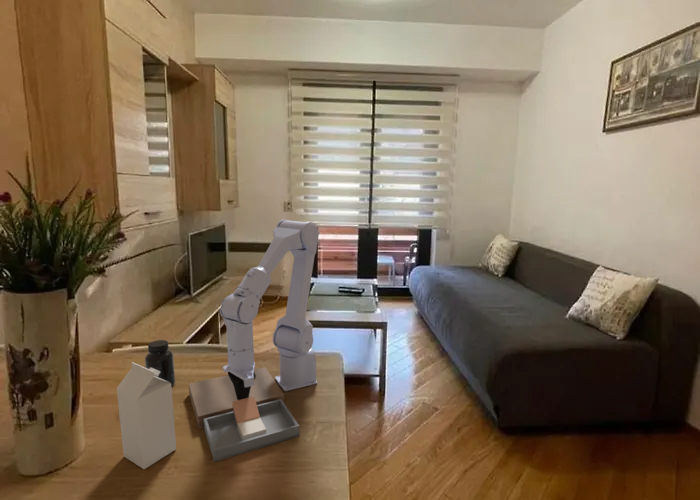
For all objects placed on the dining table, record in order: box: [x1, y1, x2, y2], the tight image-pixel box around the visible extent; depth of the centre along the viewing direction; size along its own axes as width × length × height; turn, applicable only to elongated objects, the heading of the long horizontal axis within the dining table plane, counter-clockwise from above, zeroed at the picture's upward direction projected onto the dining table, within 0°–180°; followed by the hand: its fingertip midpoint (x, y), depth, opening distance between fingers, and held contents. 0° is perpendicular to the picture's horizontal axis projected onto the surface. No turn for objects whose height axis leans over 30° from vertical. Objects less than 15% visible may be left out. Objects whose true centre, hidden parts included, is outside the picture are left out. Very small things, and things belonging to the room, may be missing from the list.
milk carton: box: [116, 361, 177, 470], centre depth 82 cm, size 7×7×19 cm
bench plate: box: [188, 366, 286, 429], centre depth 104 cm, size 20×16×3 cm
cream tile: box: [237, 417, 266, 441], centre depth 90 cm, size 5×5×2 cm
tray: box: [203, 399, 301, 463], centre depth 91 cm, size 18×12×2 cm, turn 118°
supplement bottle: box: [144, 339, 176, 387], centre depth 109 cm, size 7×7×12 cm
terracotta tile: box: [232, 397, 260, 424], centre depth 94 cm, size 5×5×2 cm
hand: (242, 400), depth 97 cm, fingers closed
